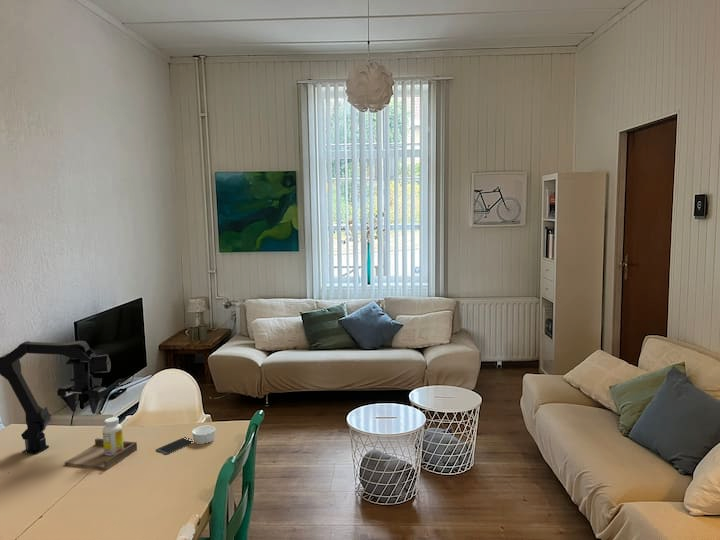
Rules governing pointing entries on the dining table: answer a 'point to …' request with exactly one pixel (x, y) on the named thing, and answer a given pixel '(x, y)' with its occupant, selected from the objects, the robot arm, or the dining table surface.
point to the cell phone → (174, 446)
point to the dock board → (101, 456)
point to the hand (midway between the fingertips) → (84, 412)
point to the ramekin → (203, 434)
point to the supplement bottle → (112, 437)
